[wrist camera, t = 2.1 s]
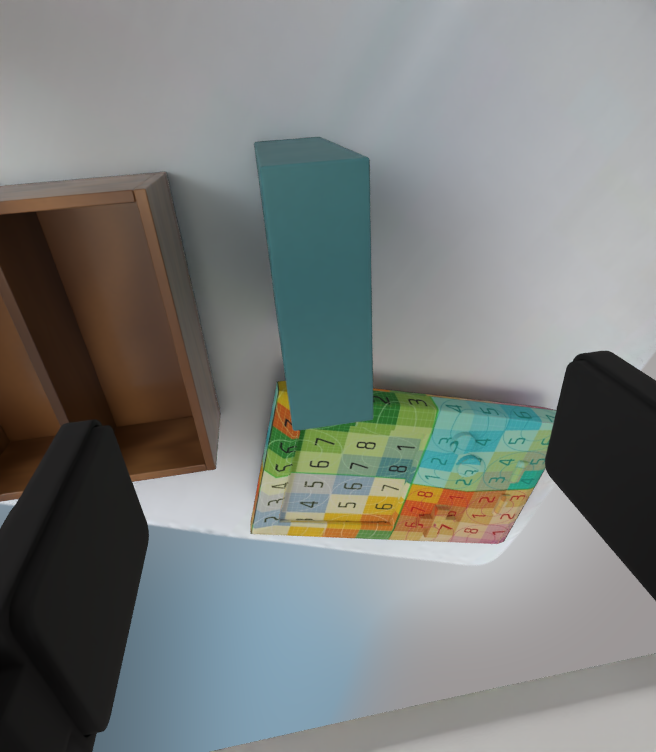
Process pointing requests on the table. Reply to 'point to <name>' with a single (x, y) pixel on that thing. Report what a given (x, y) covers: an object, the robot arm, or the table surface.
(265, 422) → the table surface
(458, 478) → the puzzle game
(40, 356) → the caddy
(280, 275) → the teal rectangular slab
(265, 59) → the table surface
